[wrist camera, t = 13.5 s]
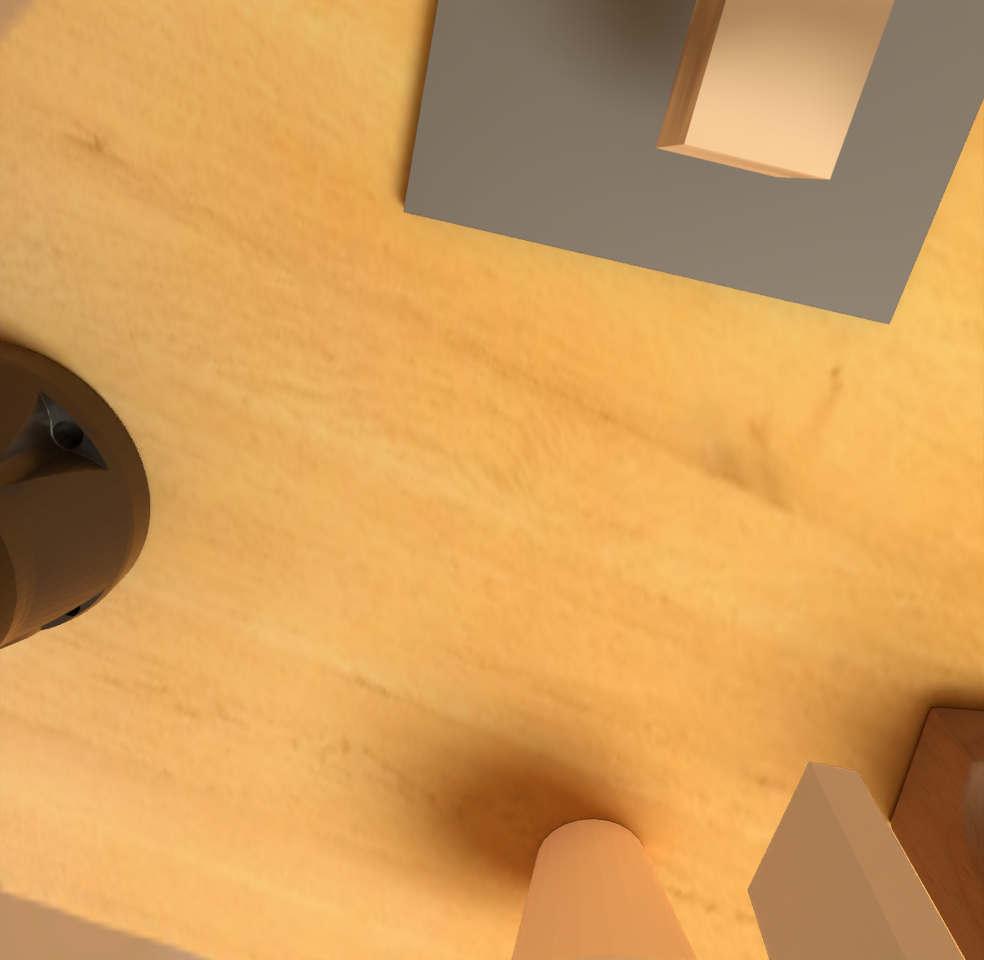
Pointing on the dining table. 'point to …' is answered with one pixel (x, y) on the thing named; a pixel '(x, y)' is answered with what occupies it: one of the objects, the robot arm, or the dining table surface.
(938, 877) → the wooden block
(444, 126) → the slate board
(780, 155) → the beech bar
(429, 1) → the dining table surface
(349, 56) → the dining table surface
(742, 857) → the dining table surface
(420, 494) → the dining table surface
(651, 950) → the cup
